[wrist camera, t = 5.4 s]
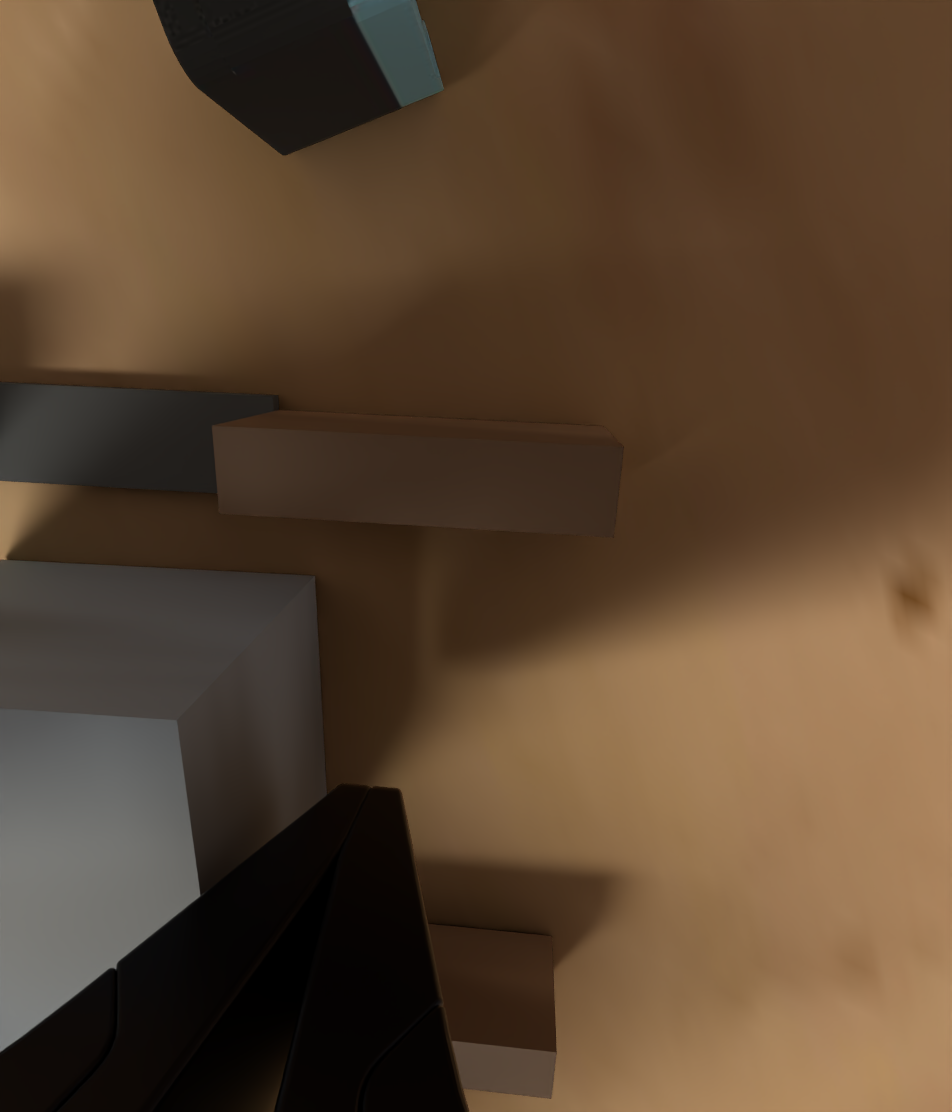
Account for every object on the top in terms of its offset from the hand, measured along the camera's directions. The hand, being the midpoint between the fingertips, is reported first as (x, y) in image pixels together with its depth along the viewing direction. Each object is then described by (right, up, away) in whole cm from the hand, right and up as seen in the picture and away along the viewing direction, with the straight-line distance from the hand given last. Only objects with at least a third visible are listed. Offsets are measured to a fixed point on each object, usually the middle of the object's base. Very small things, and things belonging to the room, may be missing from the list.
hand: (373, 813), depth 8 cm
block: (-4, +1, +2) cm, 4 cm away
